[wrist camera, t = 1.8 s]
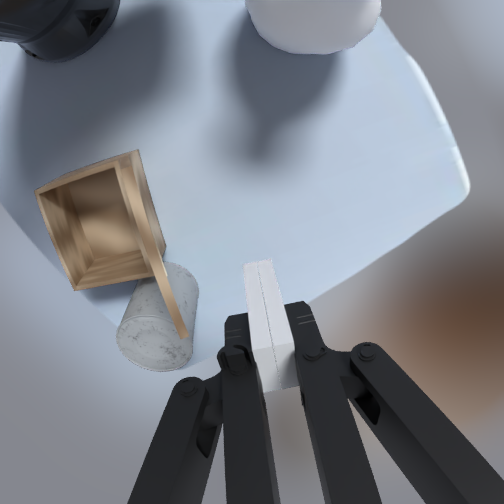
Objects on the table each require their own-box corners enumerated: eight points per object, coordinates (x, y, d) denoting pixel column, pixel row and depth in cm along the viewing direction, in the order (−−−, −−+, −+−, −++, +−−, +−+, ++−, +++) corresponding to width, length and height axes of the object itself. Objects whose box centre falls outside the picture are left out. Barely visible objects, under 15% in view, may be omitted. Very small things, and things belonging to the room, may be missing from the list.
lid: (120, 169, 18) (133, 165, 18) (120, 157, 28) (128, 154, 29) (180, 339, 25) (190, 335, 25) (158, 276, 35) (165, 274, 35)
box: (63, 174, 36) (33, 190, 29) (138, 149, 36) (117, 160, 29) (94, 262, 42) (74, 291, 35) (166, 246, 42) (155, 275, 35)
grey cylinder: (158, 321, 48) (144, 378, 37) (126, 275, 44) (101, 328, 33) (209, 302, 47) (206, 360, 36) (180, 252, 43) (166, 304, 32)
